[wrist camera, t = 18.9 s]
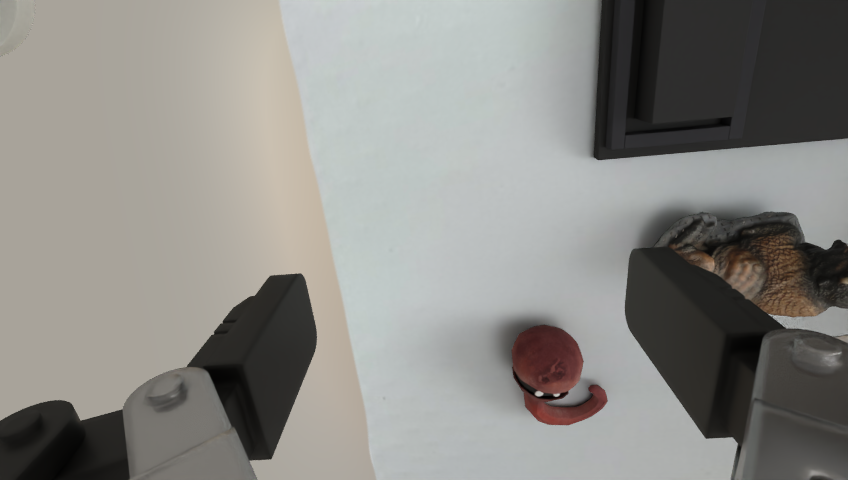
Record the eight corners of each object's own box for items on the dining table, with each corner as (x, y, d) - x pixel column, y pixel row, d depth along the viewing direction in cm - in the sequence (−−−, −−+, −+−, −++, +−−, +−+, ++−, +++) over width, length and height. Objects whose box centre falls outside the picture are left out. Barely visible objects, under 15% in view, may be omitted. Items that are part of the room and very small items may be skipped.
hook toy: (661, 363, 37) (608, 448, 43) (622, 312, 42) (580, 394, 49) (535, 363, 35) (498, 453, 41) (511, 309, 40) (481, 396, 46)
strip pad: (649, -71, 29) (672, -84, 26) (737, -81, 29) (769, -95, 26) (634, 118, 33) (651, 124, 31) (709, 111, 33) (734, 116, 30)
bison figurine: (640, 281, 40) (702, 351, 31) (644, 207, 37) (714, 259, 28) (780, 267, 39) (887, 334, 30) (795, 190, 36) (918, 237, 27)
